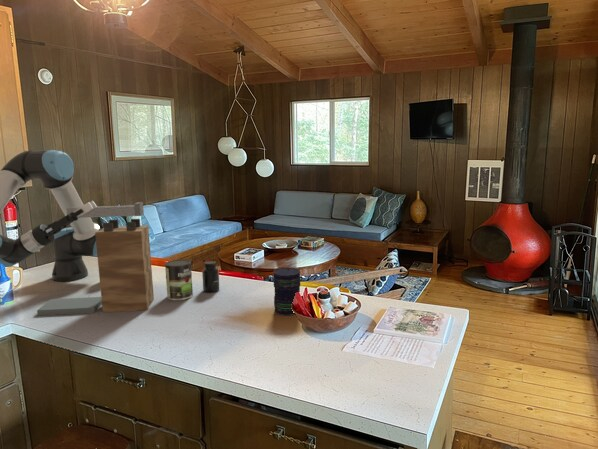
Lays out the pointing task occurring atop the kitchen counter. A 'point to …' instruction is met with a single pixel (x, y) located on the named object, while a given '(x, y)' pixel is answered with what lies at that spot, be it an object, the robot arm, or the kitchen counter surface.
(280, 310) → the storage jar
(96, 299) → the gray block
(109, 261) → the brown wooden tall block
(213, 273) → the supplement bottle
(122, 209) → the grey bar
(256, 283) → the kitchen counter surface
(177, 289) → the coffee can
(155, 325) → the kitchen counter surface
